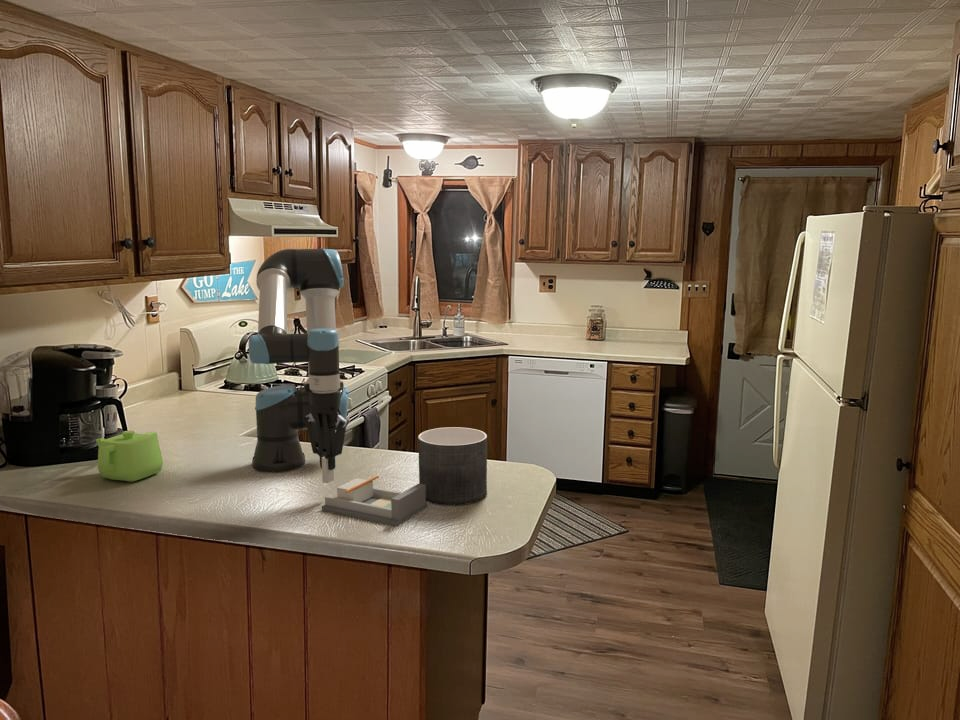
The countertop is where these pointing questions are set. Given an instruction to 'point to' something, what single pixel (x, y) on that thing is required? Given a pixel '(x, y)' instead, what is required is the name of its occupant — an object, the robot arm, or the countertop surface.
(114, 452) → the teapot
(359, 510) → the gauge base
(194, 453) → the countertop surface
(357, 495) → the cream box orange strip
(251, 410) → the countertop surface
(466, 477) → the planter
